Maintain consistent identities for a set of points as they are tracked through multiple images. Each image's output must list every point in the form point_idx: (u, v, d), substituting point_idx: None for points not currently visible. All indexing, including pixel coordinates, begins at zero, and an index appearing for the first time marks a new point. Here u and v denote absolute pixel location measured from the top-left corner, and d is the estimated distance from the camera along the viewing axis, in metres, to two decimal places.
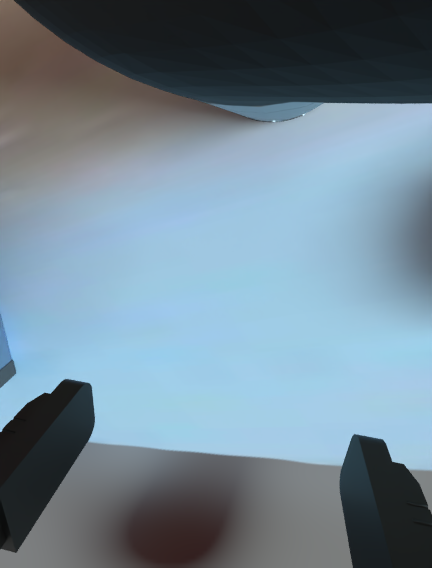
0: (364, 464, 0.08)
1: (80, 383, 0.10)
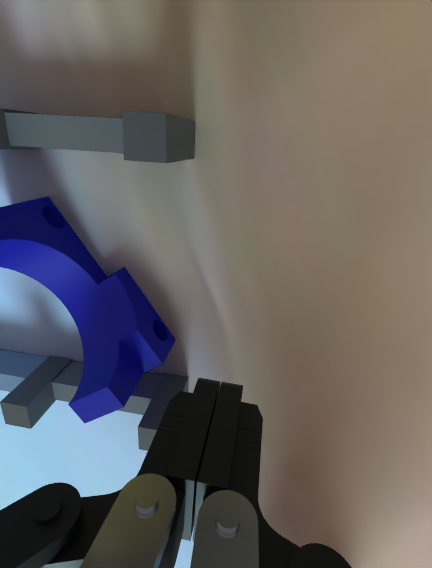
0: (216, 402, 0.10)
1: (215, 382, 0.10)
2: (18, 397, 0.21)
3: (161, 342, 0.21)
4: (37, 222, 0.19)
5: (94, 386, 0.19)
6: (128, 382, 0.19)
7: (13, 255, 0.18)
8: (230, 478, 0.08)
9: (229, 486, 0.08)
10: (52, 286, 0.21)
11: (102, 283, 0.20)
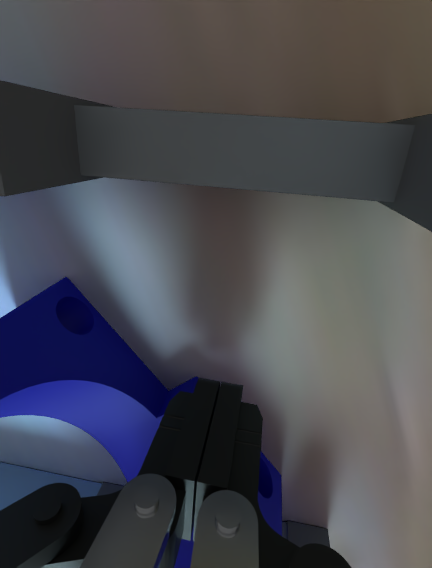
0: (216, 402, 0.10)
1: (215, 382, 0.10)
2: None
3: (269, 502, 0.13)
4: (49, 337, 0.10)
5: None
6: None
7: (11, 403, 0.10)
8: (230, 478, 0.08)
9: (229, 486, 0.08)
10: (82, 422, 0.13)
11: None
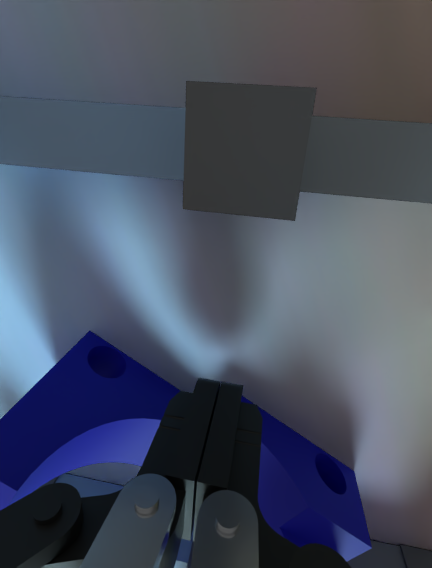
0: (216, 402, 0.10)
1: (215, 381, 0.10)
2: None
3: (344, 497, 0.12)
4: (86, 387, 0.11)
5: None
6: None
7: (69, 457, 0.11)
8: (230, 478, 0.08)
9: (229, 486, 0.08)
10: (142, 460, 0.13)
11: None
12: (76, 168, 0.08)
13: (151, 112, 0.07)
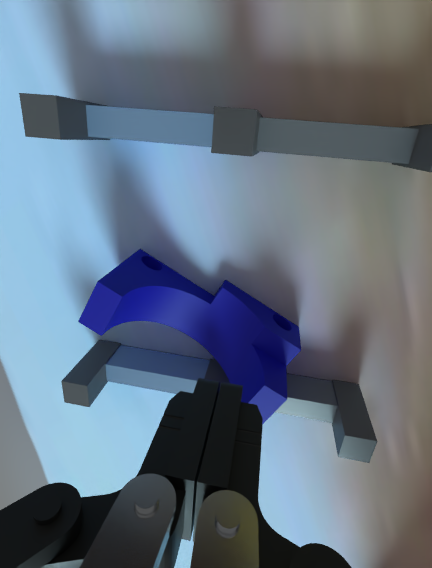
0: (216, 402, 0.10)
1: (215, 382, 0.10)
2: None
3: (288, 331, 0.21)
4: (143, 270, 0.21)
5: (251, 391, 0.19)
6: (278, 377, 0.19)
7: (137, 305, 0.20)
8: (230, 478, 0.08)
9: (229, 486, 0.08)
10: (173, 323, 0.23)
11: (214, 301, 0.22)
12: (157, 141, 0.17)
13: (194, 115, 0.16)
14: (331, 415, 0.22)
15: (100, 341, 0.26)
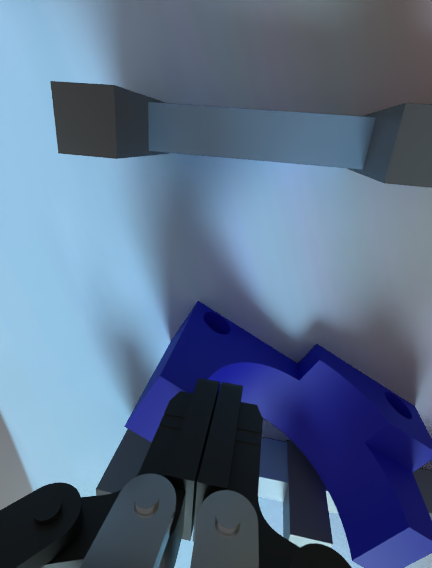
0: (216, 402, 0.10)
1: (215, 382, 0.10)
2: (308, 524, 0.15)
3: (412, 421, 0.15)
4: (211, 339, 0.14)
5: (377, 525, 0.13)
6: (415, 501, 0.13)
7: None
8: (230, 478, 0.08)
9: (229, 486, 0.08)
10: (244, 402, 0.16)
11: (305, 376, 0.16)
12: (260, 158, 0.11)
13: (326, 118, 0.10)
14: None
15: None
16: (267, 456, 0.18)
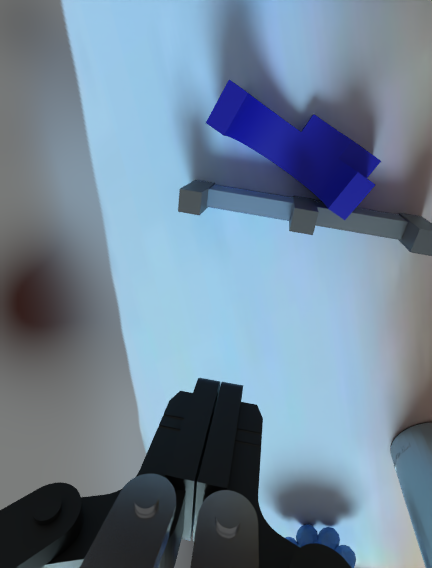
0: (216, 402, 0.10)
1: (215, 381, 0.10)
2: (305, 208, 0.25)
3: None
4: None
5: (342, 186, 0.24)
6: None
7: (246, 122, 0.25)
8: (230, 478, 0.08)
9: (229, 486, 0.08)
10: (267, 152, 0.27)
11: (305, 128, 0.26)
12: None
13: None
14: (401, 231, 0.27)
15: (197, 180, 0.30)
16: (280, 198, 0.29)
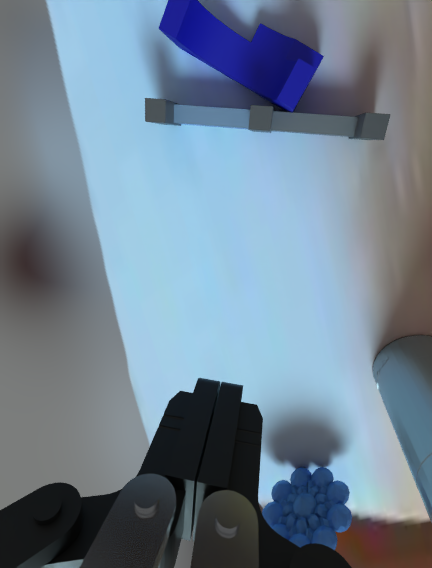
0: (216, 402, 0.10)
1: (215, 381, 0.10)
2: None
3: None
4: None
5: (288, 77, 0.26)
6: None
7: (197, 31, 0.27)
8: (230, 478, 0.08)
9: (229, 486, 0.08)
10: (222, 66, 0.29)
11: (254, 38, 0.28)
12: None
13: None
14: (353, 127, 0.28)
15: None
16: None
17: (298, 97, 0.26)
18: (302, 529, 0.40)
